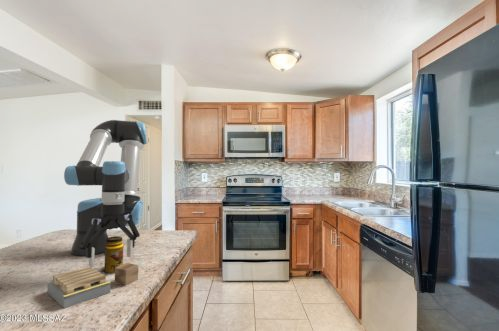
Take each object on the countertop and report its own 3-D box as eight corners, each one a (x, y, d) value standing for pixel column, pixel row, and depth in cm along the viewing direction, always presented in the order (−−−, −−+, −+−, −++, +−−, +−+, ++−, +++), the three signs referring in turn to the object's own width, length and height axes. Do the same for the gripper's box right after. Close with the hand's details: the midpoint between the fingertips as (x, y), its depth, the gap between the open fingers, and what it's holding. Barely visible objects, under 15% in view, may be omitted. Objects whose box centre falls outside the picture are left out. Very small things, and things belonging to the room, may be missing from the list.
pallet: (52, 282, 79) (52, 275, 79) (89, 272, 87) (89, 266, 87) (67, 294, 72) (67, 287, 72) (105, 282, 80) (105, 275, 80)
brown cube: (114, 283, 86) (114, 267, 86) (126, 277, 91) (127, 262, 91) (125, 285, 84) (126, 270, 84) (137, 280, 89) (138, 265, 89)
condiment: (121, 273, 94) (122, 240, 94) (95, 275, 92) (95, 241, 92) (126, 266, 101) (126, 234, 101) (101, 267, 99) (102, 235, 99)
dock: (47, 292, 79) (47, 282, 79) (90, 279, 88) (91, 270, 88) (64, 308, 70) (64, 296, 70) (110, 292, 80) (110, 282, 80)
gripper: (78, 207, 85) (76, 274, 84) (149, 201, 104) (148, 255, 104) (70, 205, 89) (68, 268, 89) (139, 199, 109) (138, 251, 109)
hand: (111, 261), depth 96 cm, fingers open, 13 cm apart
